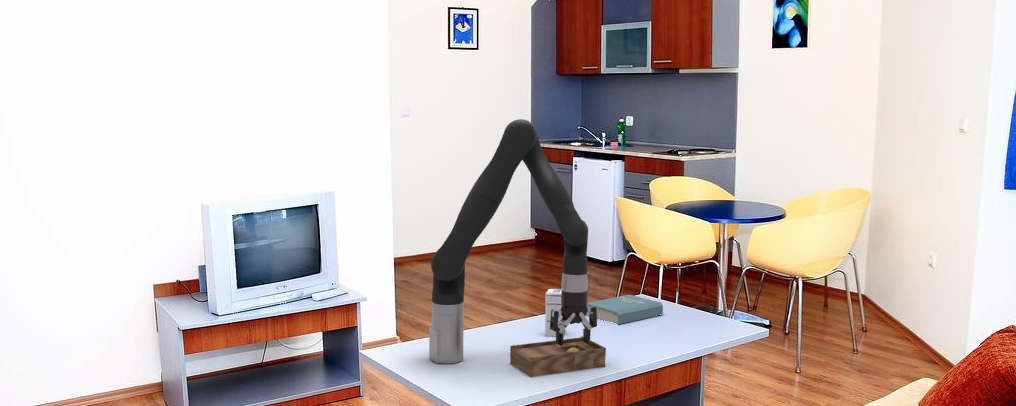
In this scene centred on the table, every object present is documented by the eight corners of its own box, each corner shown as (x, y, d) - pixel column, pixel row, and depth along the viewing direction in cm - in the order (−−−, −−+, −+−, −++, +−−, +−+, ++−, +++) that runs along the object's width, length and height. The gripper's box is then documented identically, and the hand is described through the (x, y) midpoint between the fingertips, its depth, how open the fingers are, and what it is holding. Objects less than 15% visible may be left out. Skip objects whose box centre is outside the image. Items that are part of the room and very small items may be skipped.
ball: (586, 353, 257) (579, 368, 257) (578, 349, 261) (571, 363, 261) (574, 347, 255) (567, 361, 255) (567, 343, 259) (559, 357, 259)
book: (628, 307, 328) (629, 294, 328) (662, 316, 316) (663, 302, 316) (584, 317, 314) (585, 303, 313) (618, 326, 302) (618, 312, 301)
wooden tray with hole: (530, 377, 245) (530, 357, 244) (510, 363, 257) (510, 345, 256) (605, 366, 255) (605, 347, 255) (582, 354, 267) (582, 336, 266)
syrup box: (562, 337, 286) (563, 293, 284) (544, 336, 287) (545, 292, 285) (565, 332, 291) (566, 289, 289) (547, 331, 292) (548, 288, 291)
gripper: (558, 293, 249) (557, 349, 251) (602, 289, 255) (601, 344, 257) (546, 287, 256) (545, 342, 258) (589, 283, 262) (588, 337, 264)
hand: (573, 343), depth 257 cm, fingers open, 8 cm apart
